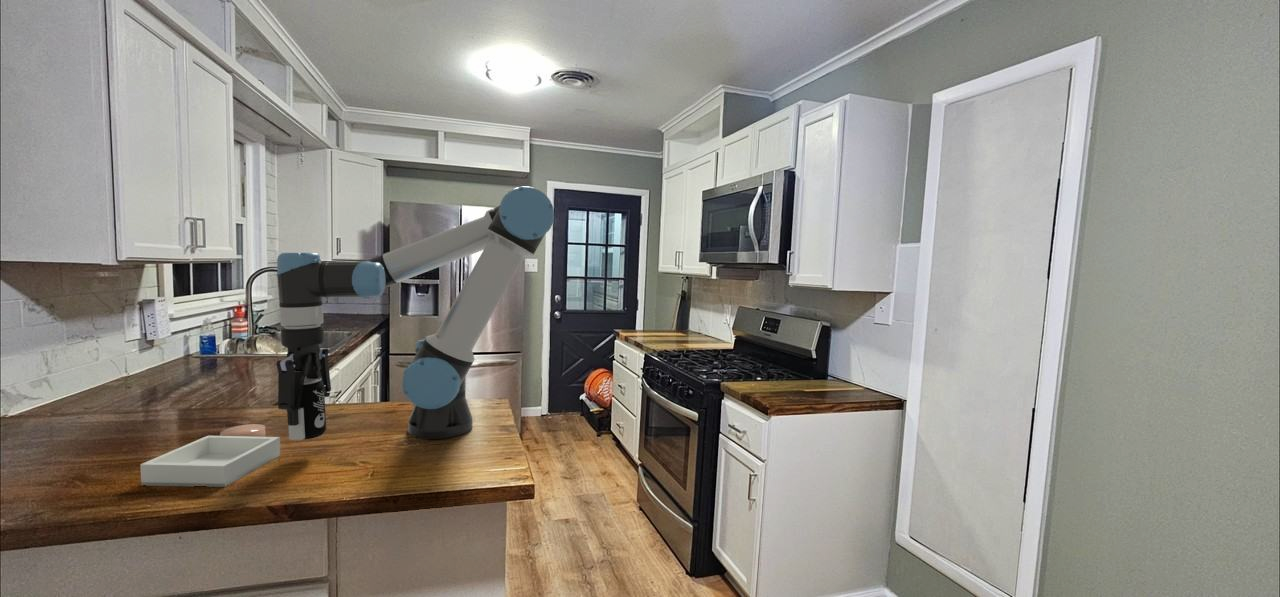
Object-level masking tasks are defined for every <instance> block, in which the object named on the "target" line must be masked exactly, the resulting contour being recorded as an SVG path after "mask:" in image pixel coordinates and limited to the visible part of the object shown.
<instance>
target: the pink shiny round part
mask: <svg viewBox="0 0 1280 597" xmlns="http://www.w3.org/2000/svg"><path fill="white" fill-rule="evenodd" d="M219 436H249V437H266V425H264V424H260V423H259V424H257V423H251V424H250V423H249V424H242V425H235V426H231V427H228V428H226V429H223V430H221V431H220V433H219Z"/></svg>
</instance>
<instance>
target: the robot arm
mask: <svg viewBox="0 0 1280 597" xmlns="http://www.w3.org/2000/svg"><path fill="white" fill-rule="evenodd" d="M554 221H555V210H554V206H553V204H552V201H551V200H550V198H549V197H548V196H547V194H545V193H544V192H543V191H541V189H538V188H536V187H532V186H526V185H525V186H518V187H515V188H512V189H511V190H510V191H507V193H506V194H505V195H504V196H503V197H502V199H501V200H500V204H499V205H498V206H496V207H494V208H490V209H488V210H486V211H485V214H484V215H483V216H482V217H478V218H476V219H474V220H470V221H468V222H465V223H463V224H460V225H458V226H456V227H452V228H450V229H447V230H444V231H442V232H439V233H436V234H433V235H430V236H428V237H426V238H422V239H421V240H418V241H415V242H412V243H410V244H407V245H404V246H401V247H399V248H396V249H394V250H391V251H388V252H385V253H384V254H380V255H377V256H374V257H372V258H370V259H367V260H363V261H338V262H337V261H335V262H334V261H333V262H332V261H331V262H329V261H322V259H321V255H320V253H317V252H282V253H280V254H279V255H278V256H277V265H276V266H277V270H276V271H277V272H276V277H277V279H276V280H277V287H278V288H277V291H278V301H279V303H278V305H279V319H280V320H279V321H280V326H282V327H283V328H281V329H280V340H281V341H280V342H281V343H280V344H281V346H282V347H285V348H287V352H286V353H287V354H286V358H284V359H282V360H279V359H278V360H277V361H276V364H275V365H276V368H277V372H278V374H277V376H278V377H277V379H278V380H277V384H278V386H277V390H278V391H277V392H278V393H277V394H278V395H277V400H278V401H277V406H278V408H277V409H278V410H283V411H284V410H285V411H286V413H287V414H286V416H287V424H288V439H289V441H304V440H303V439H305V428H304V410H303V408H300V405H301V399H302V391H303V386H304V380H305V378H306V377H307V378H308V379H317V378H318V377H319V378H321V382H322V383H323V384H324V394H325V398H329V397H330V395H331V391H332V384H331V376H330V366H329V352H330V351H329V349H328V348H320V345H322V344H323V343H325V330H324V326H323V325H321V324H323V323H324V309H323V308H324V307H323V298H325V299H326V298H363V299H364V298H365V299H366V298H371V297H374V298H375V297H380V296H382V295H383V294H384V292H385V289H386V288H388V287H391V286H393V285H396V284H398V283H400V282H403V281H406V280H408V279H410V278H414V277H416V276H418V275H421V274H424V273H426V272H429V271H432V270H435V269H437V268H439V267H443V266H445V265H448V264H450V263H453V262H455V261H457V260H461V259H463V258H466V257H468V256H471V255H473V254H476V253H479V252H481V251H482V252H481V254H480V256H479V257H478V259H477V261H476V263H475V264H474V265H473V268H472V269H471V272H470V273H469V275H468V277H467V279H466V281H465V282H464V284H463V286H462V287H461V290H460V291H459V293H458V295H457V296H456V298H455V300H454V301H453V304H452V305H451V307H450V309H449V310H448V313H447V314H446V316H445V317H444V320H443V321H442V322H441V324H440V326H439V328H438V330H437V331H436V333H434V334H430V335H427V336H426V337H425V338H424V339H419V340H417V342H416V343H415V349H414V353H415V356H414V357H413V359H412V361H411V363H410V364H409V365H407V367H406V368H405V370H404V371H403V374H402V380H401V388H402V392H403V393H404V395H405V397H406V399H407V400H408V401H409V402H410V403H411V404H413V408H412V411H411V415H410V416H409V420H408V426H407V427H408V428H407V430H408V431H407V433H408V434H409V436H411V437H414V438H417V439H424V440H441V439H449V438H453V437H458V436H461V435H464V434H466V433H468V432H469V431H471V430H472V429H473V416H472V413H471V410H470V407H469V404H468V400H467V398H466V397H467V396H466V390H467V389H466V386H467V385H466V384H467V383H466V381H467V380H466V376H467V375H468V372H469V371H470V369H471V367H472V365H473V363H474V362H475V360H476V359H475V356H474V353H473V349H474V348H475V346H476V344H478V341H479V339H480V337H481V336H482V334H483V332H484V330H485V328H486V326H487V325H488V323H489V321H490V319H491V318H492V315H493V314H494V312H495V310H496V309H497V307H498V305H499V304H500V301H501V300H502V299H503V296H504V295H505V293H506V291H507V289H508V288H509V285H510V284H511V282H512V281H513V279H514V276H515V274H516V273H517V271H518V270H519V269H520V266H521V265H522V262H523V260H525V259H527V258H530V257H533V256H534V255H535V253H536V251H537V249H538V248H539V246H540V244H541V242H542V240H543V238H544V237H545V236H546V234H547V233H548V232H549V231H550V230H551V228H552V226H553V223H554Z"/></svg>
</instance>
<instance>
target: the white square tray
mask: <svg viewBox="0 0 1280 597" xmlns="http://www.w3.org/2000/svg"><path fill="white" fill-rule="evenodd" d="M280 456H281V437H280V436H278V437H277V436H265V437H249V436H220V435H206V436H204V437H201V438H199V439H196V440H195V441H192V442H190V443H187V444H185V445H183V446H181V447H178V448H175V449H173V450H170V451H169V452H166V453H164V454H162V455H159V456H157V457H155V458H152V459H150V460H148V461H145V462H142V463H140V465H139V466H140V481H141V482H140V483H141V485H140V486H143V485H146V486H150V487H151V486H154V487H194V486H207V487H206V488H208V487H209V488H210V487H211V488H212V487H214V488H226V487H227V485H228V486H229V485H231V484H232V483H235V482H237V481H239V480H240V479H241V478H244V477H245V476H247V475H249V474H250V473H253V471H256V470H257V469H259V468H261V467H262V466H265V465H266V464H267V463H269V462H271V461H273V460H275V459H276V458H278V457H280ZM146 486H145V487H146Z"/></svg>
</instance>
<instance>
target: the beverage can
mask: <svg viewBox="0 0 1280 597" xmlns="http://www.w3.org/2000/svg"><path fill="white" fill-rule="evenodd" d="M324 386H325V385H324V384H323V383H322V382H321V378H319V377H318V378H317V379H308V378H307V376H305V380H304V386H303V391H302V399H301V405H300V408H303V410H304V428H305V439H303V440H302V441H304V440H310V439H311V440H312V439H315V438H318V437H320V436H322V435H324V434H325V432H326V430H327V420H326V419H327V417H326V416H327V415H326V414H327V412H326V400H325V398H326V397H325V394H324Z"/></svg>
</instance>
